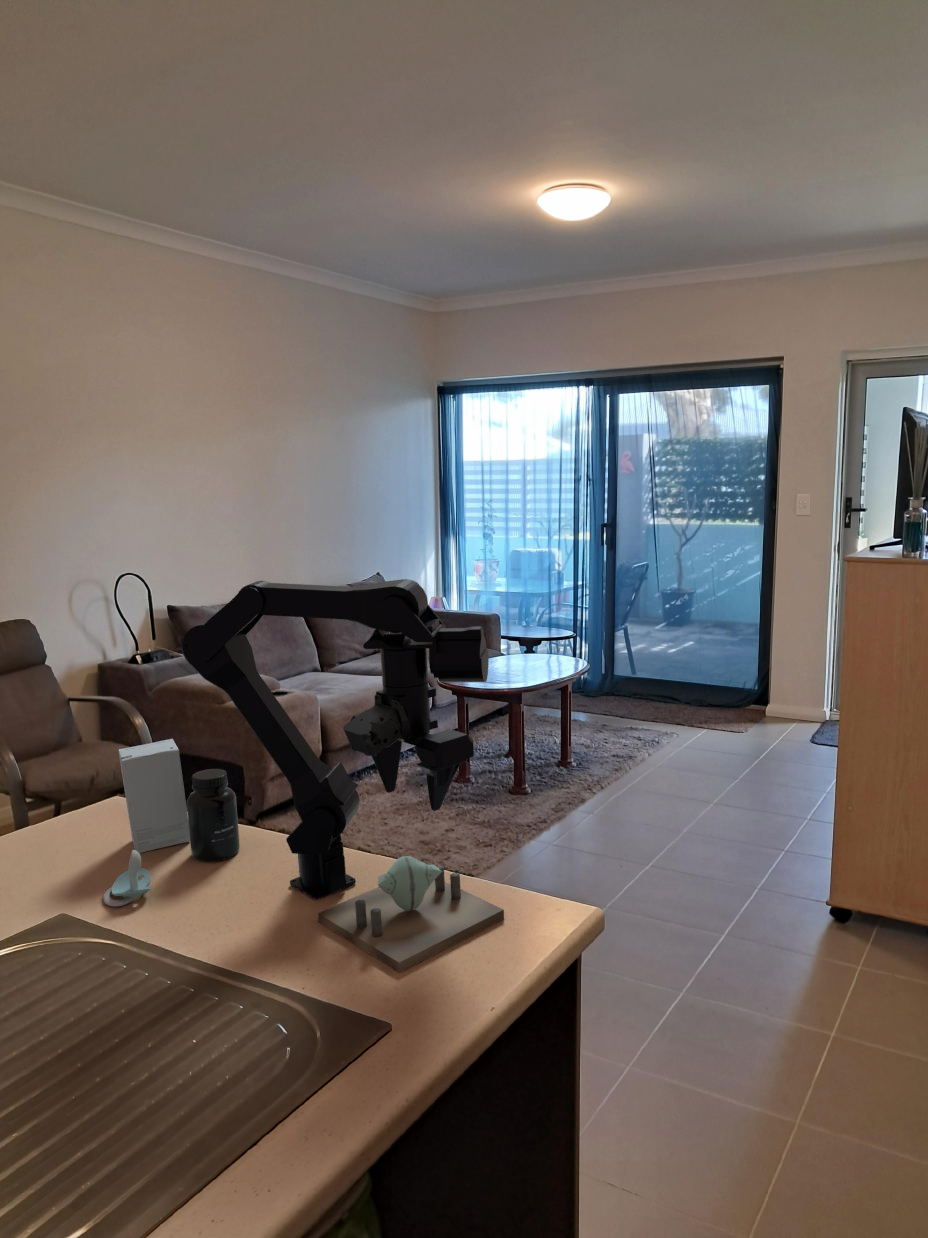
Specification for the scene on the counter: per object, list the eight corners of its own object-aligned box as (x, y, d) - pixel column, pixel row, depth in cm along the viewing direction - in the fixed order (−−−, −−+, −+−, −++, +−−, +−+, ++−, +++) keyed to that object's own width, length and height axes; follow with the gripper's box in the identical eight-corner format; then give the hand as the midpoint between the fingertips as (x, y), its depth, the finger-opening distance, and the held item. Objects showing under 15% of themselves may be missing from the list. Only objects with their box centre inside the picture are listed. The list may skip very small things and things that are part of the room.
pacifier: (101, 915, 119) (151, 905, 121) (94, 869, 118) (144, 859, 120) (105, 889, 126) (152, 880, 128) (98, 846, 125) (145, 837, 127)
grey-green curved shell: (382, 924, 110) (378, 871, 109) (372, 909, 114) (369, 857, 113) (445, 910, 113) (443, 857, 112) (434, 895, 117) (432, 844, 116)
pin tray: (318, 922, 114) (315, 890, 113) (419, 877, 125) (417, 848, 124) (399, 972, 102) (397, 937, 102) (504, 919, 113) (502, 886, 112)
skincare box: (186, 829, 144) (176, 737, 142) (191, 843, 139) (181, 747, 136) (128, 841, 141) (117, 746, 138) (132, 856, 136) (120, 758, 133)
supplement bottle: (227, 864, 131) (219, 783, 129) (183, 862, 133) (174, 782, 131) (248, 844, 138) (241, 766, 136) (205, 842, 139) (197, 765, 137)
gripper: (309, 683, 118) (318, 800, 121) (400, 709, 105) (408, 841, 107) (380, 666, 126) (387, 777, 128) (474, 689, 112) (479, 812, 115)
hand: (412, 800), depth 120 cm, fingers open, 9 cm apart
